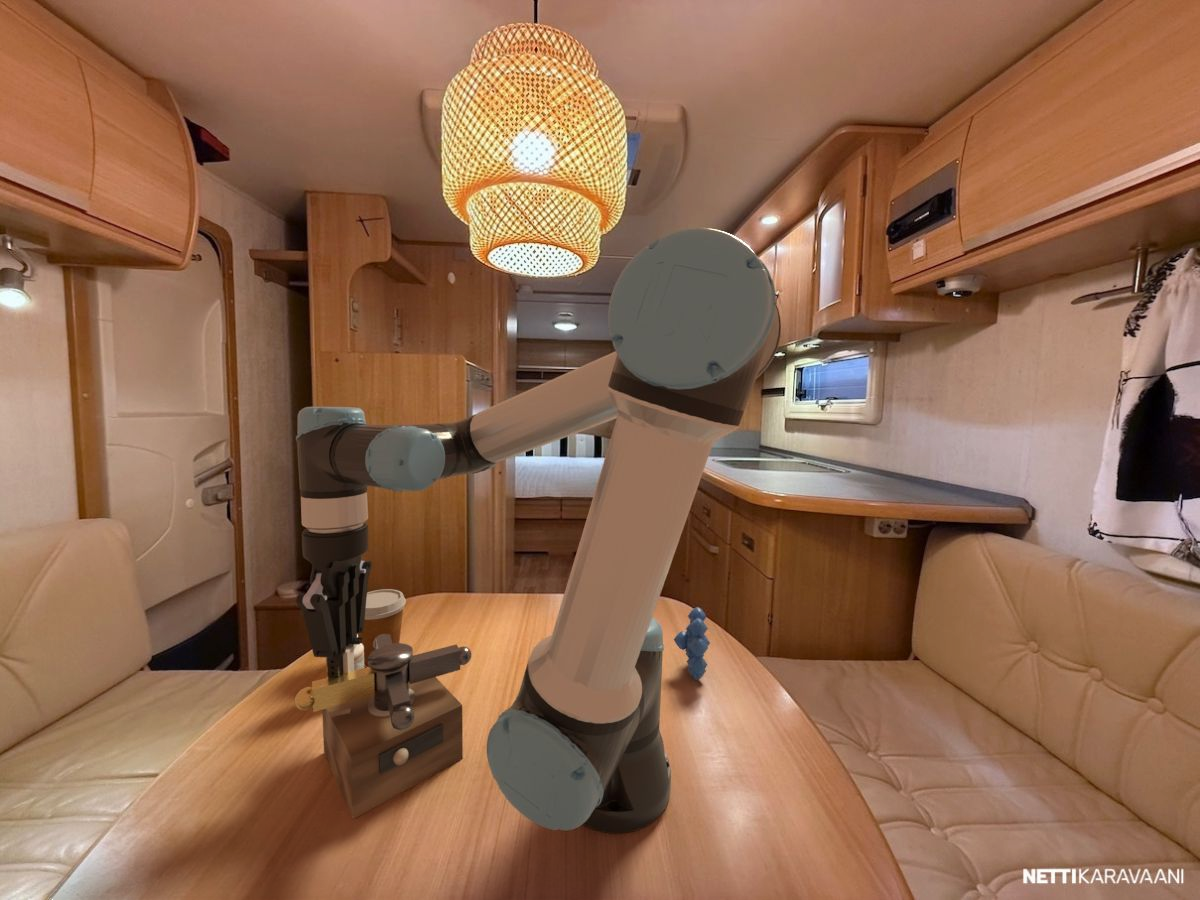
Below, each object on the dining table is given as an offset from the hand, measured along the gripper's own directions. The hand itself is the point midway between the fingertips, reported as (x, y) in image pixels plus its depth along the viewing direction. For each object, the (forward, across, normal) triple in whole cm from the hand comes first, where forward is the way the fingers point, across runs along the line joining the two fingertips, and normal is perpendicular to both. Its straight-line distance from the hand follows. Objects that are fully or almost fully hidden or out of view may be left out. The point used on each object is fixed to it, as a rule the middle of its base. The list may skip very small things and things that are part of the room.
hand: (342, 694), depth 61 cm
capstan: (+2, -1, +6) cm, 6 cm away
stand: (+10, -1, +6) cm, 12 cm away
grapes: (+10, -25, +52) cm, 59 cm away
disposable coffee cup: (+10, -25, -8) cm, 29 cm away
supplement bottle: (+10, -14, -8) cm, 19 cm away
